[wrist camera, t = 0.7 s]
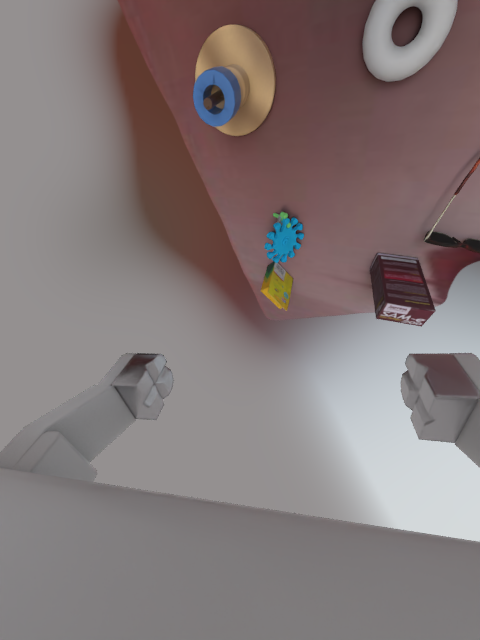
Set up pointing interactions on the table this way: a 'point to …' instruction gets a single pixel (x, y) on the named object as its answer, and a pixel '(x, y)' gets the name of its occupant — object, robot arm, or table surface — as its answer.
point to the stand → (240, 75)
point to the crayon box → (277, 285)
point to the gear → (284, 238)
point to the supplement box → (400, 290)
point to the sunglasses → (447, 241)
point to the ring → (230, 90)
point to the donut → (407, 60)
